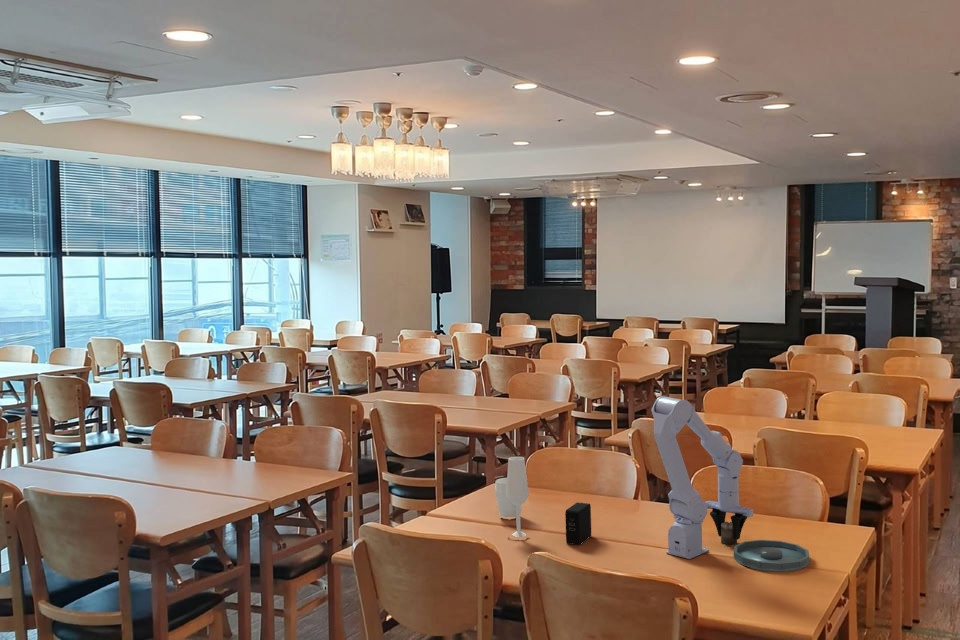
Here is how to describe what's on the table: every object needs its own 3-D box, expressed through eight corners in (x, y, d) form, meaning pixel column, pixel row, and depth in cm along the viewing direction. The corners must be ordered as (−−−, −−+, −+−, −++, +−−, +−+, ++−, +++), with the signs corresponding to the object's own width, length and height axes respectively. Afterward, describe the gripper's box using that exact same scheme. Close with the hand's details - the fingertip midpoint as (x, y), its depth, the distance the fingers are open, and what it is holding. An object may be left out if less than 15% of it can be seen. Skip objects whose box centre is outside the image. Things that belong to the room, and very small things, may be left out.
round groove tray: (786, 577, 229) (785, 568, 229) (720, 560, 244) (720, 552, 243) (822, 558, 242) (822, 550, 242) (757, 543, 257) (757, 535, 256)
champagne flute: (534, 538, 269) (532, 458, 267) (515, 542, 265) (513, 462, 264) (521, 532, 275) (519, 454, 273) (503, 536, 271) (500, 458, 269)
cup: (491, 516, 293) (490, 479, 293) (516, 511, 297) (515, 476, 296) (503, 523, 285) (502, 485, 284) (529, 518, 289) (527, 481, 288)
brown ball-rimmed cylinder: (731, 546, 255) (731, 526, 255) (718, 543, 258) (717, 523, 258) (740, 542, 258) (739, 522, 258) (726, 539, 261) (726, 519, 261)
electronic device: (565, 544, 262) (564, 510, 262) (578, 534, 271) (577, 501, 270) (579, 545, 260) (578, 511, 260) (591, 535, 269) (590, 502, 268)
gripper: (758, 491, 254) (759, 539, 255) (714, 483, 265) (714, 529, 266) (745, 497, 250) (746, 545, 251) (700, 488, 260) (701, 534, 261)
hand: (729, 537), depth 258 cm, fingers closed on brown ball-rimmed cylinder, 4 cm apart
